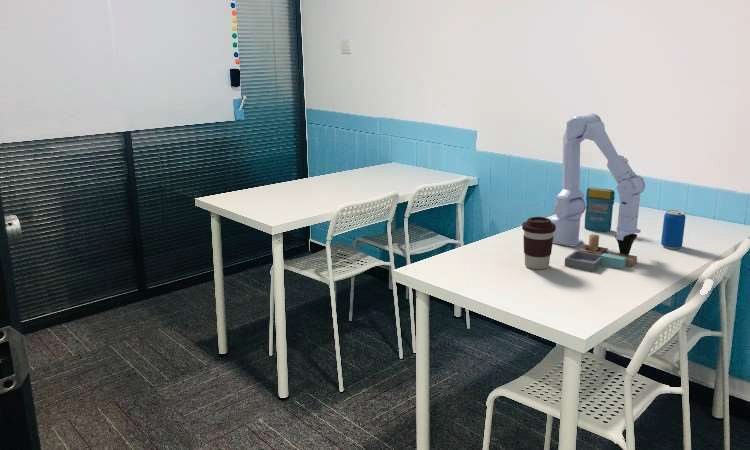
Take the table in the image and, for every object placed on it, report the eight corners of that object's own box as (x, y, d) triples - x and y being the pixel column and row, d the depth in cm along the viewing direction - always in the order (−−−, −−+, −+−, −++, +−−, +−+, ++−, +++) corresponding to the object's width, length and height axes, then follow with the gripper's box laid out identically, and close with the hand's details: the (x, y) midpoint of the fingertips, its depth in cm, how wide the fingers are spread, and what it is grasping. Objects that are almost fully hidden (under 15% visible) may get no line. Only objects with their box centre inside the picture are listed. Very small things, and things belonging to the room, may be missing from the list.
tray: (564, 265, 202) (565, 258, 201) (575, 257, 209) (575, 250, 208) (593, 271, 197) (594, 263, 196) (603, 263, 204) (604, 255, 203)
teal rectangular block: (599, 264, 202) (600, 255, 202) (602, 262, 205) (603, 253, 204) (622, 269, 198) (623, 259, 198) (625, 266, 201) (626, 257, 200)
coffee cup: (554, 262, 205) (557, 216, 201) (551, 272, 196) (554, 225, 192) (522, 259, 208) (524, 214, 204) (518, 269, 199) (520, 222, 195)
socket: (577, 257, 209) (578, 250, 209) (585, 251, 215) (586, 244, 214) (599, 261, 205) (600, 254, 205) (607, 255, 211) (607, 248, 210)
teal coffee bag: (612, 230, 238) (615, 190, 234) (609, 233, 234) (613, 192, 230) (585, 226, 243) (588, 187, 239) (582, 229, 239) (585, 189, 235)
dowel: (586, 256, 210) (587, 236, 208) (589, 254, 212) (591, 233, 210) (595, 258, 208) (597, 237, 206) (598, 256, 210) (600, 235, 208)
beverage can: (683, 250, 215) (688, 215, 211) (663, 249, 216) (667, 214, 213) (679, 244, 221) (683, 210, 217) (658, 243, 222) (662, 209, 219)
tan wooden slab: (605, 263, 205) (606, 255, 204) (610, 259, 209) (611, 251, 208) (631, 268, 200) (632, 260, 199) (636, 263, 204) (637, 256, 203)
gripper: (634, 222, 195) (630, 265, 199) (648, 211, 206) (643, 252, 210) (610, 218, 199) (607, 260, 203) (625, 208, 210) (621, 248, 214)
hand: (624, 256), depth 207 cm, fingers closed
